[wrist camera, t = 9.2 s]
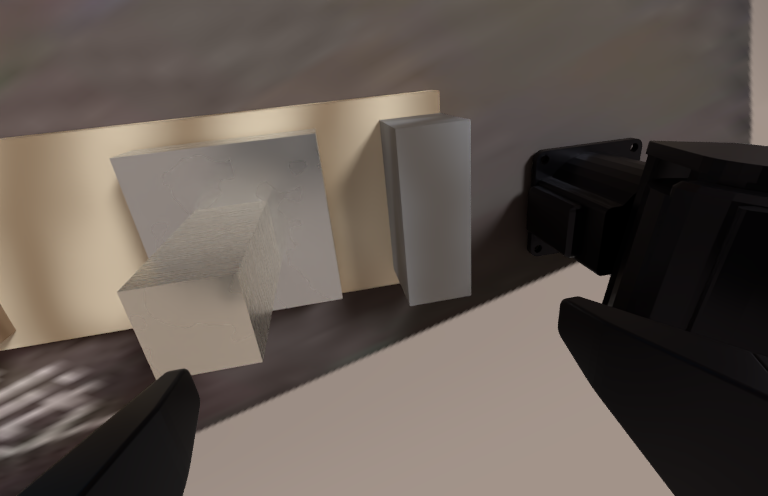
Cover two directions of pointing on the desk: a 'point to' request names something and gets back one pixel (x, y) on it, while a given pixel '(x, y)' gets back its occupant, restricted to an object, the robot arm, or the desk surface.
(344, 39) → the desk surface
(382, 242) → the base
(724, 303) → the robot arm
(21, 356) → the desk surface
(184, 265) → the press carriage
